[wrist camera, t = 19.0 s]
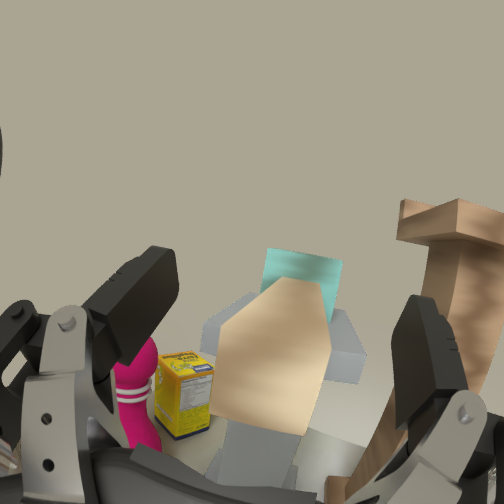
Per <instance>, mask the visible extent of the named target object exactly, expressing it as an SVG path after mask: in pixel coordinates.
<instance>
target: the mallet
mask: <svg viewBox="0 0 504 504" xmlns="http://www.w3.org/2000/svg"><path fill="white" fill-rule="evenodd" d="M342 264H343V261H340V260H338V259H333V258H328V257H322V256H316V255H311V254H304V253H300V252H294V251H288V250H282V249H276V248H268V251H267V256H266V262H265V269H264V274H263V279H262V285H261V290H260V295H259V296H258V297H256V298H255V299H254V300H253V301H251V302H250V303H249V304H248V305H247V306H245V307H244V308H243V309H242V310H240V311H239V312H238V313H237V314H235V315H234V316H233V317H231V318H230V319H229V320H228V321H226V322H225V323H224V324H223V325H221V330H220V336H219V343H218V350H217V356H216V363H215V370H214V377H213V384H212V391H211V398H210V406H209V413H210V414H213V415H216V416H220V417H223V418H227V419H230V420H234V421H237V422H241V423H245V424H249V425H253V426H257V427H261V428H266V429H270V430H275V431H280V432H285V433H290V434H296V435H301V436H305V433H306V430H307V428H308V425H309V422H310V419H311V416H312V413H313V410H314V407H315V404H316V401H317V398H318V394H319V391H320V388H321V385H322V382H323V378H324V375H325V372H326V368H327V364H328V361H329V357H330V354H331V350H332V347H331V341H330V335H329V330H328V324H327V323H330V322H331V318H332V313H333V309H334V304H335V299H336V295H337V290H338V284H339V280H340V275H341V269H342Z"/></svg>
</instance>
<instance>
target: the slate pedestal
mask: <svg viewBox="0 0 504 504" xmlns="http://www.w3.org/2000/svg"><path fill="white" fill-rule="evenodd" d="M259 295H260V294H255V293H249V294H247V295H246V296H244V297H242V298H241V299H239V300H238V301H236V302H235V303H233V304H232V305H230V306H229V307H227V308H225V309H224V310H222V311H221V312H219V313H218V314H216V315H215V316H213V317H211V318H210V319H208V320H207V321H205V322H204V324H203V332H202V339H201V347H200V352H204V353H207V354H211V355H214V356H217V350H218V343H219V336H220V330H221V325H223V324H224V323H225V322H226V321H228V320H229V319H230V318H231V317H233V316H234V315H235V314H237V313H238V312H239V311H240V310H242V309H243V308H244V307H245V306H247V305H248V304H249V303H250V302H251V301H253V300H254V299H255V298H256V297H258V296H259ZM327 324H328V330H329V335H330V341H331V347H332V350H331V354H330V357H329V361H328V364H327V368H326V372H325V375H324V378H323V380H329V381H335V382H342V383H350V384H358V381H359V378H360V375H361V373H362V369H363V366H364V363H365V359H366V356H367V354H366V352H365V350H364V348H363V346H362V344H361V342H360V340H359V338H358V336H357V334H356V332H355V330H354V328H353V326H352V324H351V322H350V320H349V318H348V316H347V314H346V313H345V311H344V310H340V309H333V313H332V318H331V322H330V323H327ZM300 439H301V435H296V434H290V433H285V432H280V431H275V430H270V429H266V428H261V427H257V426H253V425H249V424H245V423H241V422H237V421H234V420H230V419H229V420H228V425H227V431H226V436H225V442H224V447H223V450H222V449H219V450H218V452H217V454H216V456H215V457H214V459H213V461H212V463H211V465H210V466H209V468H208V470H207V472H206V473H205V475H204V477H206V478H208V479H209V480H211V481H213V482H214V483H216V484H219V485H225V486H272V487H277V488H283V489H289V490H294V489H295V482H296V475H297V468H298V467H297V466H291V462H292V460H293V457H294V455H295V452H296V450H297V447H298V444H299V441H300Z"/></svg>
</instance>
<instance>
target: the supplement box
mask: <svg viewBox="0 0 504 504" xmlns="http://www.w3.org/2000/svg"><path fill="white" fill-rule="evenodd" d="M214 370H215V366H213V365H211V364H210V363H209V362H207V361H206V360H204V359H203V358H201V357H200V356H199V355H197V354H196V353H194V352H193V351H187V352H181V353H174V354H166V355H158V365H157V368H156V371H155V373H156V374H155V419H156V420H157V421H158V422H159V423H160V424H161V426H162V427H163V428H164V429H165V430H166V431H167V432H168V433H169V434H170V435H171V437H173V438H174V440H179V439H182V438H185V437H188V436H191V435H194V434H197V433H200V432H202V431H205V430H208V429H209V422H210V413H209V406H210V398H211V391H212V384H213V377H214Z"/></svg>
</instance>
